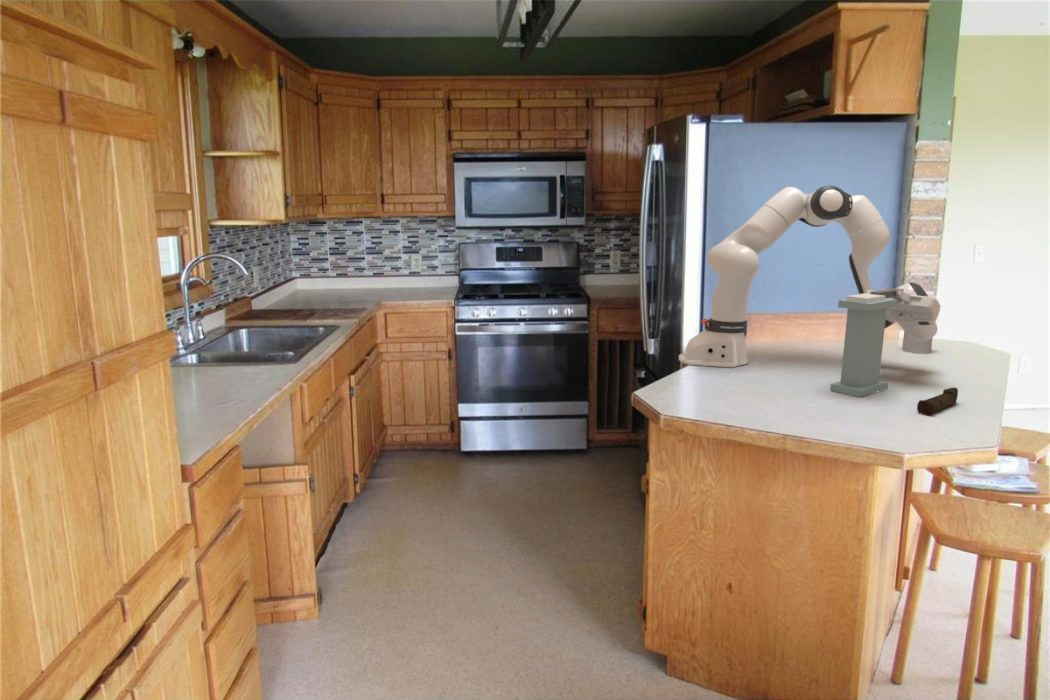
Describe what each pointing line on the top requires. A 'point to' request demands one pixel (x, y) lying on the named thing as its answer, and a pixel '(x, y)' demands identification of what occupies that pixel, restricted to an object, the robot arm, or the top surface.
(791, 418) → the top surface
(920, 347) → the cup
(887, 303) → the stand
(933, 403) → the dark brown elongated piece
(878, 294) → the turner
